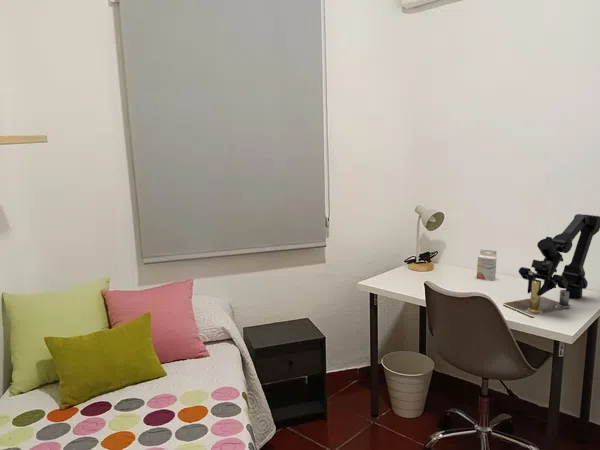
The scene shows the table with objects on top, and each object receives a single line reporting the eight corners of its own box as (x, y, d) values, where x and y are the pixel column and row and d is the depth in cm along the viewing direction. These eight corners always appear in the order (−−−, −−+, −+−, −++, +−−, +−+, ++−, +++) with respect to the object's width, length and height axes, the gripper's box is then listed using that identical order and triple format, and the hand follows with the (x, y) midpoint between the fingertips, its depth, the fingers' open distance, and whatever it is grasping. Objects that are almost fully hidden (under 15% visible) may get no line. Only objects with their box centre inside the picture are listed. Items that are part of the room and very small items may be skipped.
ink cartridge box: (476, 278, 253) (477, 250, 250) (478, 276, 257) (479, 248, 254) (493, 280, 248) (495, 252, 246) (495, 278, 252) (497, 250, 250)
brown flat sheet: (542, 299, 219) (542, 296, 219) (575, 311, 203) (575, 308, 203) (503, 305, 212) (503, 303, 212) (534, 319, 196) (534, 316, 196)
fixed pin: (563, 304, 208) (564, 288, 207) (572, 308, 204) (574, 292, 202) (554, 306, 206) (555, 290, 205) (564, 309, 202) (565, 293, 201)
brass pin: (529, 308, 204) (532, 278, 202) (541, 311, 201) (544, 280, 199) (526, 311, 201) (528, 281, 198) (538, 314, 198) (541, 283, 195)
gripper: (522, 248, 206) (505, 278, 202) (566, 256, 191) (548, 289, 187) (531, 263, 212) (515, 292, 208) (575, 272, 197) (558, 304, 193)
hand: (533, 294), depth 199 cm, fingers open, 4 cm apart
